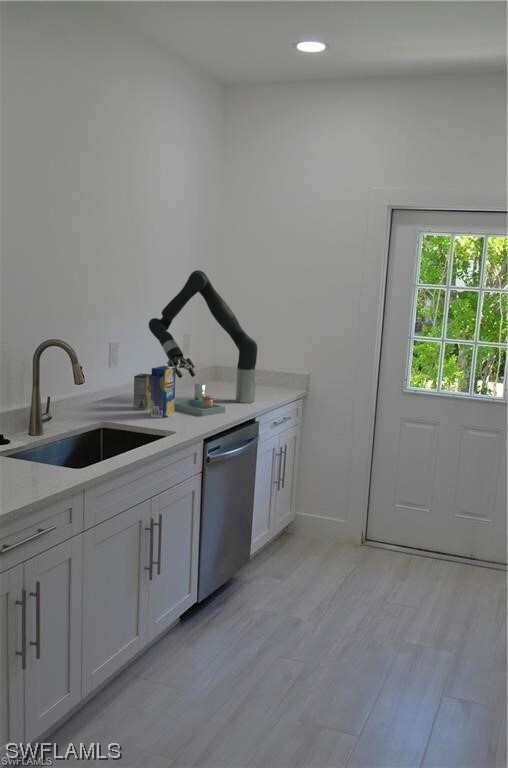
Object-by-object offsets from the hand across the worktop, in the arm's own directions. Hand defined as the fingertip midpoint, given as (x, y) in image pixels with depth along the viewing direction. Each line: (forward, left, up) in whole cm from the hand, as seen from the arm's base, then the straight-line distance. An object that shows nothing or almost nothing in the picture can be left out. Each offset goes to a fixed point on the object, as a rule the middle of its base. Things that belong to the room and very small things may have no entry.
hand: (187, 376), depth 371 cm
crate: (+11, +18, -14) cm, 25 cm away
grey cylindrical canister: (0, +9, -14) cm, 17 cm away
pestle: (+11, +25, -13) cm, 30 cm away
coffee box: (+26, -3, -14) cm, 30 cm away
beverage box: (+29, +14, -14) cm, 35 cm away
